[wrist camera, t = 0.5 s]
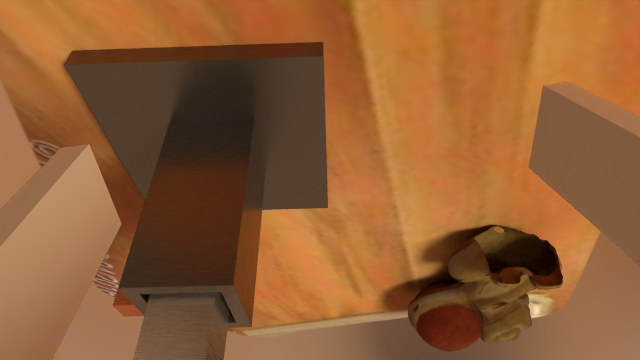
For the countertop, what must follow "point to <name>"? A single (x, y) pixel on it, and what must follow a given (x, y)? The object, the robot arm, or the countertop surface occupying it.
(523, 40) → the countertop surface
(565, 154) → the robot arm
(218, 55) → the stand
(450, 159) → the countertop surface
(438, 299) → the beige sneaker
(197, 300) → the column
